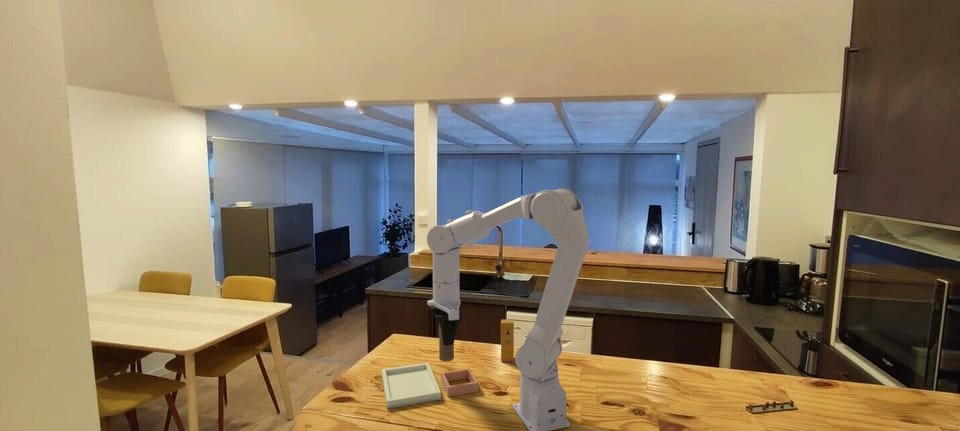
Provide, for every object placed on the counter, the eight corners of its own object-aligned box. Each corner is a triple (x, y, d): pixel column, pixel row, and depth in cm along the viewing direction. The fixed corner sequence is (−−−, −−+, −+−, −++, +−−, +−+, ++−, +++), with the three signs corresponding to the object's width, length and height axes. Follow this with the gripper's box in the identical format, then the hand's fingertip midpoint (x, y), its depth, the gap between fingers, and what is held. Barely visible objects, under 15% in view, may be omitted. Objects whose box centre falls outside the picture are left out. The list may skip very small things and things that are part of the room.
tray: (441, 399, 84) (440, 392, 84) (387, 408, 80) (386, 401, 80) (428, 368, 97) (428, 362, 97) (381, 375, 94) (381, 369, 94)
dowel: (455, 360, 87) (455, 320, 86) (441, 362, 86) (440, 321, 85) (452, 354, 90) (451, 315, 89) (438, 356, 89) (437, 316, 88)
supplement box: (513, 356, 104) (514, 318, 103) (513, 362, 100) (514, 323, 99) (501, 355, 104) (501, 318, 103) (500, 362, 101) (500, 323, 100)
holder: (478, 391, 87) (478, 382, 87) (447, 396, 85) (447, 387, 85) (469, 376, 93) (469, 368, 93) (440, 381, 91) (440, 372, 91)
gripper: (422, 273, 92) (422, 330, 94) (434, 290, 78) (434, 357, 80) (452, 271, 94) (452, 327, 96) (469, 288, 80) (469, 353, 82)
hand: (446, 341), depth 88 cm, fingers closed on dowel, 3 cm apart
